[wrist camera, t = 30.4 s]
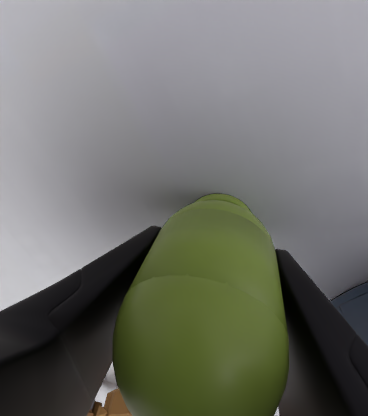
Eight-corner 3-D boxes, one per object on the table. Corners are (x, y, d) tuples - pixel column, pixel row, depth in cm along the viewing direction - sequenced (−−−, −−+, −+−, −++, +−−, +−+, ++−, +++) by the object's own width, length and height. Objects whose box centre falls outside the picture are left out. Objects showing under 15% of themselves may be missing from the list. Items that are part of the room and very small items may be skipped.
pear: (283, 186, 9) (403, 598, 2) (258, 266, 11) (273, 576, 4) (173, 171, 9) (-11, 430, 3) (172, 248, 12) (71, 490, 5)
